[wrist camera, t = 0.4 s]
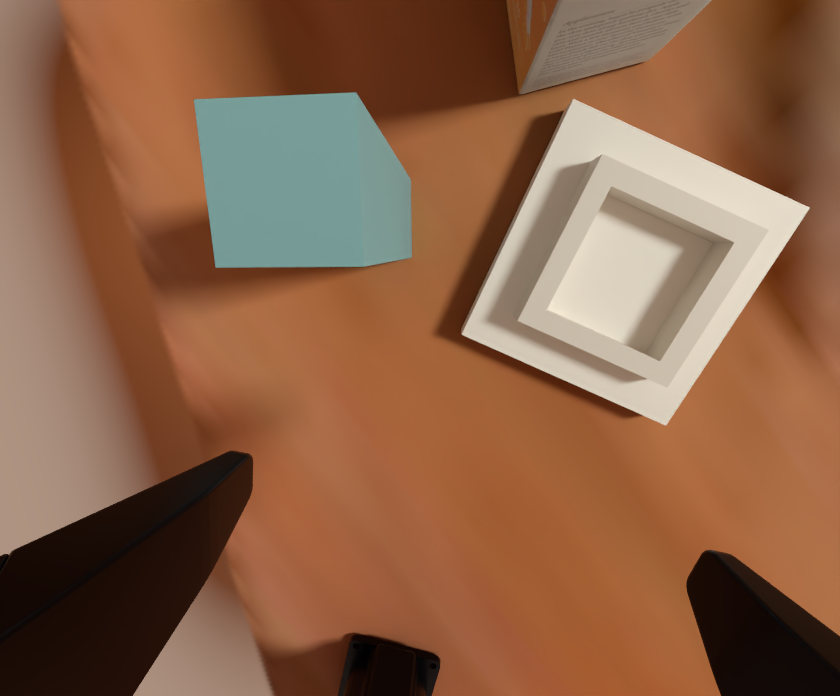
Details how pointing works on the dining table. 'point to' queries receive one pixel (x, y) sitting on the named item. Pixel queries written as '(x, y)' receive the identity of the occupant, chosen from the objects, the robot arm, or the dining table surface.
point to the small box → (589, 36)
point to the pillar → (301, 183)
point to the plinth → (627, 263)
